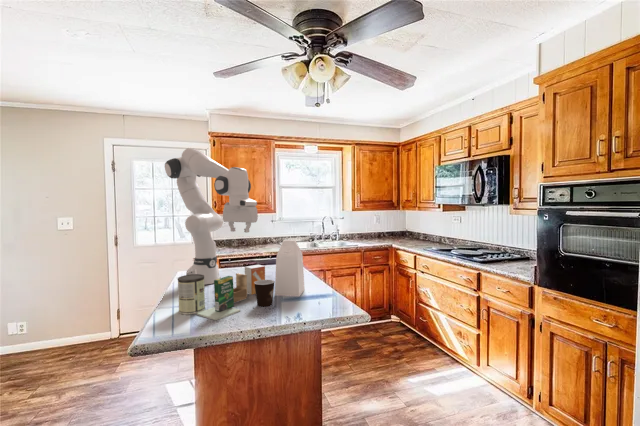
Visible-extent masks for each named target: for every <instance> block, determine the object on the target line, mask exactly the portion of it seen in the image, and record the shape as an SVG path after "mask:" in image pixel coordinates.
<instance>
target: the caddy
mask: <svg viewBox="0 0 640 426" xmlns="http://www.w3.org/2000/svg"><path fill="white" fill-rule="evenodd" d="M235 283H236V284H235V287H233V292H234V304H235V303H238V302H240V301H243V300H247V299H248V293H247V275H245V273H236V274H235Z"/></svg>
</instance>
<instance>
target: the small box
mask: <svg viewBox="0 0 640 426" xmlns="http://www.w3.org/2000/svg"><path fill="white" fill-rule="evenodd" d="M244 275H247V295H251V296H253V295H256V291H255V284H254V282H255V281H258V280H266V266H265V265H261V264H254V265H248V266H244Z"/></svg>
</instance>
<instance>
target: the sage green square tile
mask: <svg viewBox="0 0 640 426" xmlns="http://www.w3.org/2000/svg"><path fill="white" fill-rule="evenodd" d="M240 312H241V309H238V308H235V307H232V308H229V309H226V310H224V311H221V312H217V311H215V306H213V307H211V308H208V309H205V310H204V311H201V312H198V313H196V315H197V316H199V317H204V318H207V319H210V320H213V321H218V320H220V319H224V318H227V317H229V316H231V315H233V314H237V313H240Z"/></svg>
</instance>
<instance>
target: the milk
mask: <svg viewBox="0 0 640 426" xmlns="http://www.w3.org/2000/svg"><path fill="white" fill-rule="evenodd" d="M280 245H281V246H280V247H279V250H278V252H277V253H276V258H275V278H274V279H275V280H274V296H279V297H280V296H283V297H301V295H302V294H303V292H304V291H305V290H306V289H305V273H304V257H303V252H302V250H301V249H300V246H299V245H298V242H297V240H296V239H283V240H282V242H281V244H280Z"/></svg>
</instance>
